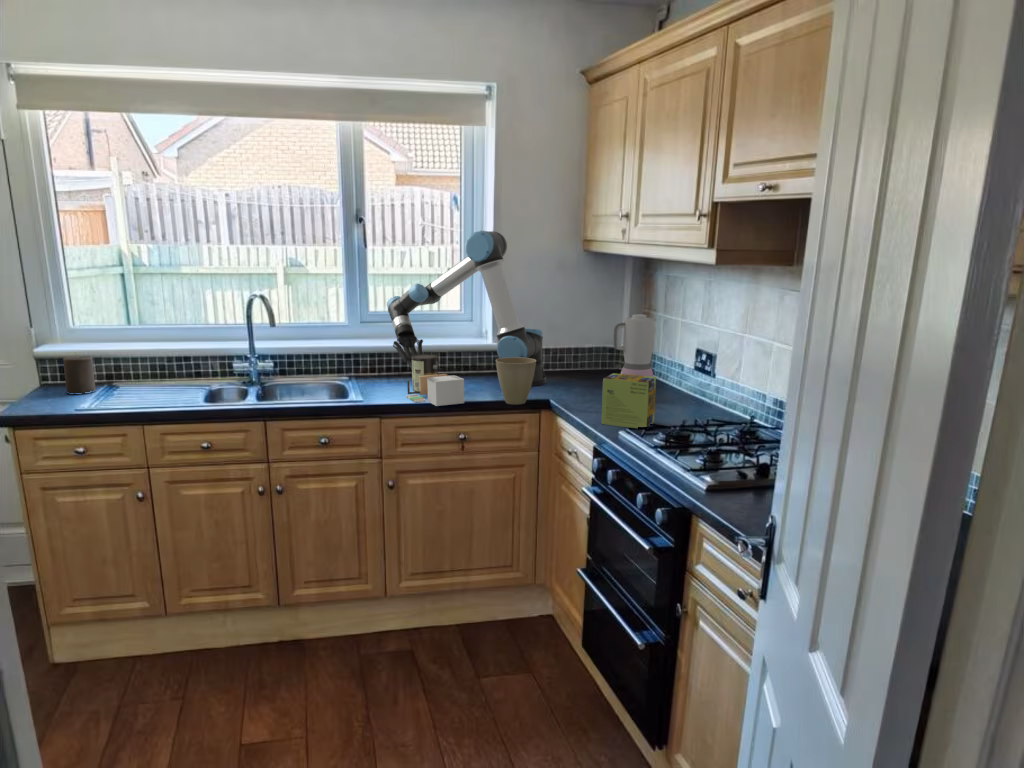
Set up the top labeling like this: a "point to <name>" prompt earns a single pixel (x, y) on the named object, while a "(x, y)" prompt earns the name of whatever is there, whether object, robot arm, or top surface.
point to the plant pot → (515, 378)
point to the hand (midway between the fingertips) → (418, 374)
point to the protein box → (628, 400)
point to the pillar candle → (79, 374)
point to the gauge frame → (443, 391)
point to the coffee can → (423, 368)
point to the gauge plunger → (423, 384)
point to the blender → (636, 344)
